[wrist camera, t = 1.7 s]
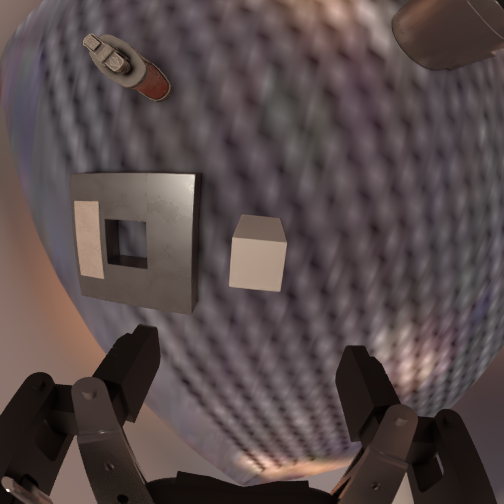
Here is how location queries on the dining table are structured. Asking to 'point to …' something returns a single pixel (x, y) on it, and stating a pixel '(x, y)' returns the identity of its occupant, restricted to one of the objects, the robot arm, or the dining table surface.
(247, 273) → the peg
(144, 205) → the slot holder
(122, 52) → the lighter
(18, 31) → the dining table surface
